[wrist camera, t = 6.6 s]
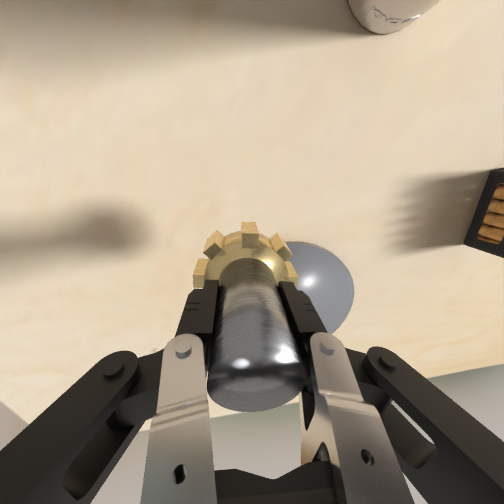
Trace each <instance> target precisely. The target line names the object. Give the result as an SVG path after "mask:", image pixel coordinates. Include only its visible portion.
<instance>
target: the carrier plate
mask: <svg viewBox="0 0 504 504" xmlns="http://www.w3.org/2000/svg"><path fill="white" fill-rule="evenodd" d="M285 243H286V245H287V246H288V248H289V250H290V251H291V253H292V255H293V256H292V257H291V258H289V259H288V260H287V261H288V262H291V264H292V266H293V268H294V269H295V271H296V273H297V275H298V277H299V278H298V282H297V287H296V289H297V290H302V291H303V292H304V293H305V294H306V295H308V296H309V298H310V300H311V302H312V305H314V307H315V309H316V311H317V313H318V315H319V317H320V319H321V321H322V322H323V324H324V326H325V328H326V330H327V332H328V334H332V333H334V332H335V331H336V330H337V329H338V328H339V327H340V325H341V324H342V323H343V322H344V320H345V319H346V317H347V315H348V313H349V311H350V309H351V306H352V303H353V298H354V285H353V280H352V277H351V275H350V272H349V271H348V269H347V267H346V266H345V265H344V264H343V263H342V262H341V260H340V259H338V258H337V257H336V256H335V255H334V254H333V253H331V252H330V251H328V250H326V249H324V248H322V247H320V246H317V245H314V244H310V243H304V242H285Z"/></svg>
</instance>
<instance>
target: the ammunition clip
mask: <svg viewBox="0 0 504 504" xmlns="http://www.w3.org/2000/svg"><path fill="white" fill-rule="evenodd" d="M464 245H467V246H470V247H473V248H475V249H478V250H481V251H484V252H487V253H490V254H493V255H496V256H499V257H502V258H504V168H500V169H494V170H491V171H490V174H489V176H488V179H487V182H486V184H485V187H484V190H483V192H482V195H481V198H480V200H479V203H478V206H477V209H476V211H475V214H474V217H473V219H472V222H471V225H470V227H469V230H468V233H467V235H466V238H465V241H464Z"/></svg>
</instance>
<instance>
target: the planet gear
mask: <svg viewBox="0 0 504 504" xmlns="http://www.w3.org/2000/svg"><path fill="white" fill-rule="evenodd" d="M203 253H204V254H205V255H206V256H207V257H208V259H198V261H197V264H196V267H195V270H194V273H193V284H194V288H203V286H204V282H205V280H219V289H218V298H217V307H216V316H215V326H214V335H213V344H212V348H211V353H210V362H209V370H208V379H207V392H208V394H209V396H210V397H211V399H212V400H213V401H214V402H216V403H217V404H218V405H220V406H222V407H224V408H227V409H230V410H234V411H240V412H256V411H264V410H269V409H273V408H276V407H278V406H281V405H283V404H285V403H287V402H289V401H290V400H292V399H293V398H295V397H296V396H297V395H298V394H299V393H300V392H301V391H302V389H303V388H304V386H305V383H306V379H307V375H306V370H305V367H304V364H303V361H302V358H301V355H300V352H299V349H298V346H297V343H296V340H295V337H294V334H293V331H292V328H291V325H290V322H289V319H288V316H287V313H286V310H285V307H284V304H283V301H282V298H281V295H280V292H279V289H278V283H279V281H293V283H294V285H295V287H297V282H298V278H299V277H298V275H297V273H296V271H295V269H294V268H293V266H292V264H291V262H288V261H287V260H288V259H289V258H291V257H292V256H293V255H292V253H291V251H290V250H289V248H288V246H287V245H286V243H285V241H284V240H283V239H282V238H281V237H280V236H279V234H278V233H276V234H275V235H274V236H272V237H271V238H270V239H269V238H268V237H266V236H264V235H262V234H260V233H259V232H258V229H257V226H256V222H241V231H240V232H235V233H231V234H229V235H227V236H225V237H224V236H223V235H222V234H221V233H220V232H219V231H218V230H217V231H216V232H215V233H213V234H212V235H211V236H210V237H209V238H208V239H207V242H206V245H205V248H204V251H203Z"/></svg>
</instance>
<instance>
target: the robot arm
mask: <svg viewBox="0 0 504 504" xmlns="http://www.w3.org/2000/svg"><path fill="white" fill-rule="evenodd" d="M440 1H441V0H348V3H349V5H350V8H351V10H352V12H353V14H354V16H355V17H356V19H357V20H358V21H359V22H360V24H361V25H363V26H364V27H365V28H367V29H368V30H369V31H372V32H375V33H378V34H389V33H392V32H396V31H399V30H400V29H402V28H404V27H406V26H407V25H409V24H410V23H412V22H413V21H414V20H416V19H417V18H418V17H420V16H421V15H422V14H424V13H425V12H426V11H428V10H429V9H430V8H432V7H433V6H434V5H436V4H437V3H438V2H440ZM218 289H219V280H205V282H204V286H203V289H194V290H193V291H192V292H191V293H190V294H189V295H188V298H187V301H186V304H185V307H184V311H183V313H182V316H181V319H180V323H179V326H178V329H177V332H176V335H175V337H174V338H173V339H171V340H170V341H169V342H168V343H167V345H166V346H165V348H164V349H162V350H160V351H158V352H156V353H153V354H150V355H146V356H143V357H140V358H137V356H136V355H135V354H134V353H133V352H130V351H118V352H115V353H112V354H110V355H108V356H106V357H104V358H103V359H101V360H100V361H99V362H98V363H97V364H95V365H94V366H93V367H92V368H91V369H90V370H89V371H88V372H87V373H86V374H84V375H83V376H82V377H81V378H80V379H79V380H78V381H77V382H76V383H75V384H73V385H72V386H71V387H70V388H69V389H68V390H67V391H66V392H65V393H64V394H62V395H61V396H60V397H59V398H58V399H57V400H56V401H55V402H54V403H53V404H51V405H50V406H49V407H48V408H47V409H46V410H45V411H44V412H43V413H42V414H40V415H39V416H38V417H37V418H36V419H35V420H34V421H33V422H32V423H31V424H29V425H28V426H27V427H26V428H25V429H24V430H23V431H22V432H21V433H20V434H18V435H17V436H16V437H15V438H14V439H13V440H12V441H11V442H10V443H9V444H7V445H6V446H5V447H4V448H3V449H2V450H1V451H0V504H90V503H91V502H92V500H93V499H94V497H95V496H96V494H97V492H98V491H99V489H100V488H101V487H102V485H103V484H104V482H105V481H106V479H107V478H108V476H109V475H110V473H111V472H112V470H113V468H114V467H115V466H116V464H117V463H118V461H119V460H120V458H121V457H122V455H123V454H124V452H125V451H126V449H127V448H128V446H129V444H130V443H131V442H132V440H133V438H134V437H135V436H136V434H137V433H138V431H139V430H140V428H141V427H142V425H143V424H144V422H145V421H146V420H148V419H150V418H152V417H153V418H152V421H151V426H150V433H149V441H148V448H147V456H146V464H145V472H144V479H143V488H142V495H141V503H140V504H415V503H414V501H413V498H412V496H411V493H410V491H409V488H408V486H407V483H406V480H405V478H404V476H403V473H404V474H405V475H406V477H407V478H408V479H409V481H410V482H411V483H412V484H413V485H414V487H415V488H416V489H417V490H418V492H419V493H420V494H421V495H422V497H423V498H424V499H425V500H426V502H427V503H428V504H504V442H503V441H502V440H501V439H499V438H498V437H497V436H496V435H495V434H493V433H492V432H491V431H490V430H488V429H487V428H486V427H484V426H483V425H482V424H481V423H480V422H479V421H477V420H476V419H475V418H474V417H472V416H471V415H470V414H469V413H468V412H466V411H465V410H464V409H463V408H461V407H460V406H459V405H458V404H456V403H455V402H454V401H453V400H452V399H450V398H449V397H448V396H447V395H445V394H444V393H443V392H442V391H441V390H439V389H438V388H437V387H436V386H434V385H433V384H432V383H431V382H429V381H428V380H427V379H426V378H425V377H423V376H422V375H421V374H420V373H418V372H417V371H416V370H415V369H413V368H412V367H411V366H410V365H409V364H407V363H406V362H405V361H404V360H402V359H401V358H400V357H399V356H397V355H396V354H395V353H393V352H392V351H390V350H388V349H385V348H382V347H371V348H370V349H369V350H368V352H367V354H365V353H362V352H358V351H354V350H350V349H347V348H345V347H344V345H343V344H342V343H341V341H340V340H338V339H337V338H336V337H334V336H333V335H331V334H328V332H327V330H326V328H325V326H324V324H323V322H322V321H321V319H320V317H319V315H318V313H317V311H316V309H315V307H314V305H312V302H311V300H310V298H309V296H308V295H306V294H305V293H304V292H303V291H302V290H297V289H296V287H295V285H294V283H293V281H279V283H278V289H279V292H280V295H281V298H282V301H283V304H284V307H285V310H286V313H287V316H288V319H289V322H290V325H291V328H292V331H293V334H294V337H295V340H296V343H297V346H298V349H299V352H300V355H301V358H302V361H303V364H304V367H305V370H306V375H307V379H306V383H305V386H304V388H303V389H302V391H301V392H300V393H299V404H300V416H301V428H302V443H301V466H300V467H298V468H296V469H294V470H292V471H290V472H289V473H287V474H285V475H283V476H281V477H279V478H277V479H269V478H265V477H262V476H258V475H255V474H252V473H248V472H245V471H241V470H238V469H228V470H217V471H214V463H213V451H212V440H211V428H210V417H209V406H208V400H207V390H206V377H207V371H208V370H209V362H210V353H211V348H212V344H213V335H214V326H215V316H216V307H217V298H218ZM393 400H394V401H395V402H396V403H397V404H398V405H399V406H400V407H401V408H402V409H403V410H404V411H405V412H406V413H407V414H408V415H409V416H410V417H411V418H412V419H413V420H414V421H415V422H416V423H417V424H418V425H419V426H420V427H421V428H422V429H423V430H424V431H425V432H426V433H427V434H428V436H429V437H430V438H431V439H432V440H433V442H434V444H433V443H431V442H429V441H428V440H427V439H426V438H424V437H423V436H422V435H421V433H419V432H418V430H416V428H415V427H414V426H413V425H412V424H411V423H410V422H409V421H408V420H407V419H406V418H405V417H404V416H403V415H402V414H401V413H400V412H399V411H398V410H397V409H396V408H395V407H394V406H393V405H392V404H391V402H392V401H393ZM402 472H403V473H402Z"/></svg>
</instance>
